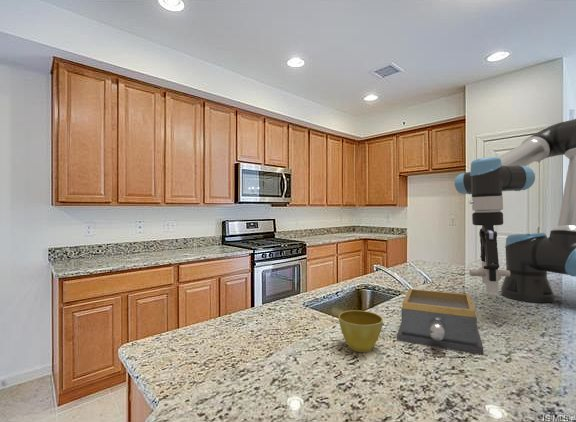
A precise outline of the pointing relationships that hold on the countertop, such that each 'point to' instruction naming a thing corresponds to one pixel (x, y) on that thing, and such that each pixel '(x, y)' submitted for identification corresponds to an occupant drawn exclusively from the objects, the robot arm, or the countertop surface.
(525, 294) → the robot arm
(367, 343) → the flower pot
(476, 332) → the grey gold-rimmed box
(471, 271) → the pipe connector
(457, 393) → the countertop surface
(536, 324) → the countertop surface
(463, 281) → the countertop surface
